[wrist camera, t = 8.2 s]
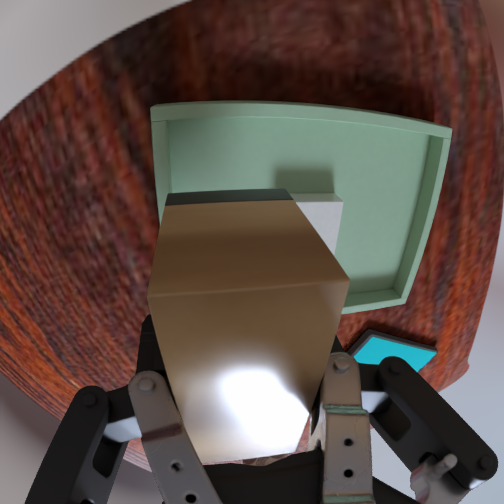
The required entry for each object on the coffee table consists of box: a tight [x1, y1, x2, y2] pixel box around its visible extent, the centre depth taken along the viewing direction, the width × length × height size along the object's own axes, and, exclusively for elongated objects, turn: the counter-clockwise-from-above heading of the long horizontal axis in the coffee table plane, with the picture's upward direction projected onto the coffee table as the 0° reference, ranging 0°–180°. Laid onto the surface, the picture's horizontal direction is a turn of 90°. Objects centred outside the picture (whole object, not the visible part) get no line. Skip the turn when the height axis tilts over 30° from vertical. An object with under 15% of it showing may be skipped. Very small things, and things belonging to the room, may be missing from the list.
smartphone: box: [346, 329, 438, 373], centre depth 33 cm, size 7×1×15 cm
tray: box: [150, 101, 452, 314], centre depth 21 cm, size 16×20×2 cm
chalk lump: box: [289, 193, 343, 255], centre depth 20 cm, size 4×4×2 cm
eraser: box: [147, 188, 350, 463], centre depth 12 cm, size 10×4×6 cm, turn 179°
